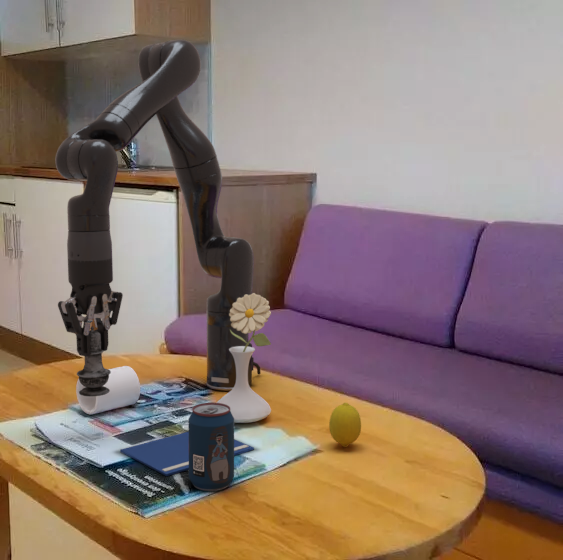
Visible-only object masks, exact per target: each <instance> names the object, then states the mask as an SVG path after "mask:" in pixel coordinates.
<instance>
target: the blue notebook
mask: <svg viewBox="0 0 563 560" xmlns="http://www.w3.org/2000/svg"><path fill="white" fill-rule="evenodd" d="M254 450H255V447H254V446H251V445H249V444H247V443H244V442H241V441H239V440H237V439H235V438H234V457H236V456H238V455H241V454H244V453H248V452H251V451H254ZM119 452H120V453H122V454H124V455H125V456H127V457H129V458H131V459H133V460H135V461H137V462H138V463H141V464H142V465H144V466H146V467H148V468H150V469H151V470H153V471H155V472H157V473H159V474H161V475H163V476H165V477H169V476H173V475H175V474H179V473H182V472H183V473H184V472H186V471H189V431H186V432H181V433H178V434H174V435H170V436H167V437H163V438H158V439H155V440H151V441H148V442H143V443H140V444H136V445H133V446H129V447H125V448H121V449H120V450H119Z"/></svg>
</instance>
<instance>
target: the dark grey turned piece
mask: <svg viewBox="0 0 563 560" xmlns="http://www.w3.org/2000/svg"><path fill="white" fill-rule="evenodd" d="M95 330H96V329H95V327H94V326H93V325H91V326H90V331H89V334H88V335H90V355H89V356H84V364H83V365H84V366H83V368H82V369H80V370H79V371H77V372H76V376H77V377H78V379H79V381H80V383H81V384H82V385H83V386H85V388H83V389H82V390H80V391H79V394H80V395H83V396H101V395H105V394H107V393H109V392H110V390H109V389H108V388H106V387H104V386H103V385H105V384H106V383H107V381H108V379H109V374H110V373H111V371H110V370H108V369H109V368H105V366H104V364H103V352H104V351H103V350H102V349H101V335H100V333H99V332H97V331H95Z"/></svg>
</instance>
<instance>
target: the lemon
mask: <svg viewBox="0 0 563 560" xmlns="http://www.w3.org/2000/svg"><path fill="white" fill-rule="evenodd" d="M328 428H329V434H330V436H331V438H332V439H333V440H334V441H335V442H336V443H338V444H340V445H341V447H343V448H347V447H348V446H349V445H351V444H353V443H355V442H356V441H357V440H358V438H359V437H360V435H361V431H362V419H361V415H360V412H359V411H358V410H357V409H356V407H354V406H353V405H351V404H350V403H348V402H343V403H342V404H339V405H338V406H336V407H334V409H333V410H332V412H331V415H330V417H329V425H328Z"/></svg>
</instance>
